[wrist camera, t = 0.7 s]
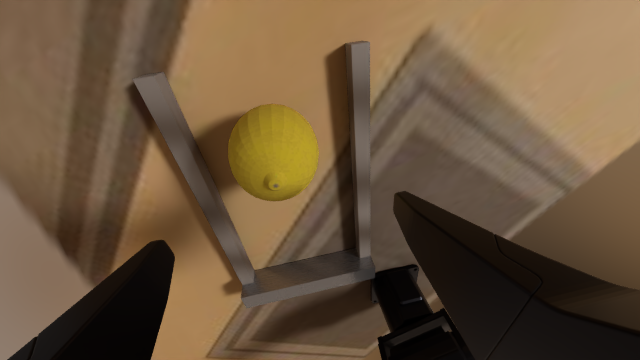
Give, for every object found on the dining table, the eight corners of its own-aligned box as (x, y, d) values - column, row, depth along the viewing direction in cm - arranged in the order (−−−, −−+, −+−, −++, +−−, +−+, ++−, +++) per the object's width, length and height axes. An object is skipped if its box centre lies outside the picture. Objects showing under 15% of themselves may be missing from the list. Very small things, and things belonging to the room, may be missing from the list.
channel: (366, 256, 29) (375, 277, 26) (248, 283, 28) (246, 308, 25) (362, 40, 16) (378, 43, 14) (144, 74, 15) (118, 84, 12)
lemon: (235, 156, 19) (216, 224, 12) (238, 84, 16) (215, 123, 10) (302, 163, 20) (317, 228, 14) (316, 99, 18) (342, 141, 11)
